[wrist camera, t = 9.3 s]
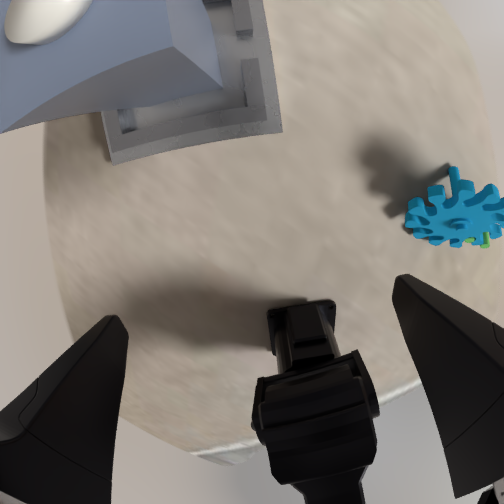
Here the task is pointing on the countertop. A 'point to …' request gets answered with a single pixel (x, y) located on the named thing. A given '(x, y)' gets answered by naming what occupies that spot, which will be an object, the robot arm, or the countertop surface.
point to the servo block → (101, 56)
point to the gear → (457, 214)
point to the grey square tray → (209, 93)
